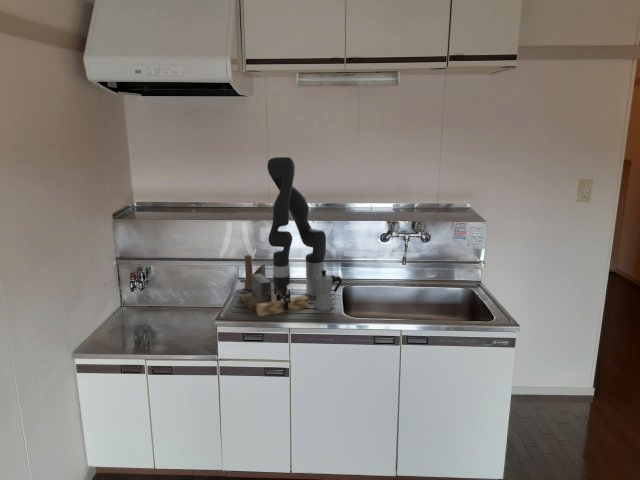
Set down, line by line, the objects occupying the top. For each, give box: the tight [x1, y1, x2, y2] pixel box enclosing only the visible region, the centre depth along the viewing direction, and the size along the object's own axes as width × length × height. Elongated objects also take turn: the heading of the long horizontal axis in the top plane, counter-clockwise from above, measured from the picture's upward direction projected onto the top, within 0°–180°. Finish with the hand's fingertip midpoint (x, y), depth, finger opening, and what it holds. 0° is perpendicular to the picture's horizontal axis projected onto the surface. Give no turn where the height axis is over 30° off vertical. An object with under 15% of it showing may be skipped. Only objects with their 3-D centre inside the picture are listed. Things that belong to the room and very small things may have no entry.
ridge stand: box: [239, 273, 282, 312], centre depth 234 cm, size 16×18×12 cm
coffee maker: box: [310, 269, 343, 312], centre depth 226 cm, size 15×9×18 cm, turn 101°
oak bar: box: [256, 295, 309, 317], centre depth 224 cm, size 24×4×5 cm, turn 114°
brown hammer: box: [244, 254, 266, 291], centre depth 250 cm, size 4×11×18 cm, turn 68°
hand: (282, 307), depth 224 cm, fingers open, 8 cm apart
